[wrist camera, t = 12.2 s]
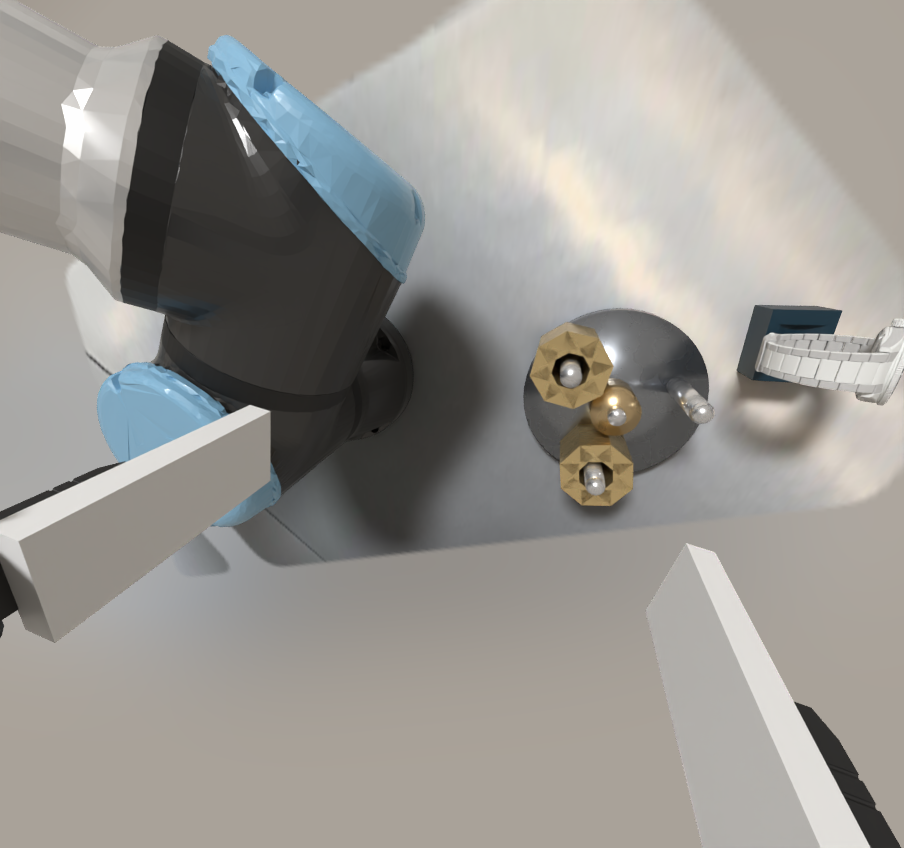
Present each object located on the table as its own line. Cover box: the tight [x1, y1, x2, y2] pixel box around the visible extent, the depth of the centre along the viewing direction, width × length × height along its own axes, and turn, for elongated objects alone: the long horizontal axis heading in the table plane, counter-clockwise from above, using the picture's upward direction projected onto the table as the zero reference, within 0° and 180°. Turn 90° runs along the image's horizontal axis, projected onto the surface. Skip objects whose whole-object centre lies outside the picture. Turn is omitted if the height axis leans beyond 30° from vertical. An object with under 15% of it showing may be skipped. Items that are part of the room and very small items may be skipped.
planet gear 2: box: [560, 424, 633, 506], centre depth 37 cm, size 6×6×5 cm
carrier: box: [524, 308, 715, 495], centre depth 34 cm, size 16×16×9 cm
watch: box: [737, 305, 904, 405], centre depth 28 cm, size 6×8×11 cm
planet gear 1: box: [530, 322, 614, 409], centre depth 34 cm, size 6×6×5 cm
